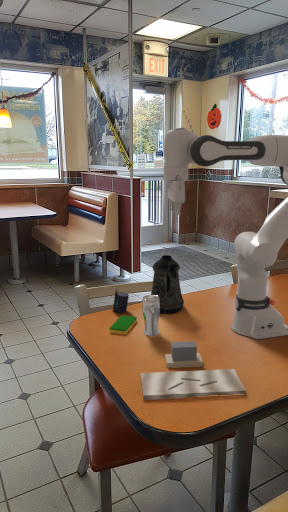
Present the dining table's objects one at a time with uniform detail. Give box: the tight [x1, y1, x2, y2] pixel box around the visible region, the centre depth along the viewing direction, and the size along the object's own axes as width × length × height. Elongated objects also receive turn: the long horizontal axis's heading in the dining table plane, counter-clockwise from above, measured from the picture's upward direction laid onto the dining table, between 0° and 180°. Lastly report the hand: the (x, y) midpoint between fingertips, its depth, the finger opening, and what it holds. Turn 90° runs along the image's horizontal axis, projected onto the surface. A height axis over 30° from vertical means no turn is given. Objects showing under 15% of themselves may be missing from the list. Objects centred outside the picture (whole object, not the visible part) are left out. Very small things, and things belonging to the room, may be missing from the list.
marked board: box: [140, 368, 247, 401], centre depth 117 cm, size 30×12×2 cm, turn 94°
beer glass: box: [141, 294, 161, 337], centre depth 152 cm, size 7×7×15 cm
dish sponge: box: [108, 315, 138, 336], centre depth 160 cm, size 7×14×2 cm, turn 162°
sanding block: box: [164, 340, 204, 369], centre depth 130 cm, size 12×6×7 cm, turn 94°
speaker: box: [112, 286, 130, 314], centre depth 176 cm, size 8×6×10 cm
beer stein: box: [150, 254, 185, 315], centre depth 176 cm, size 16×19×25 cm
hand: (175, 213), depth 143 cm, fingers open, 8 cm apart
